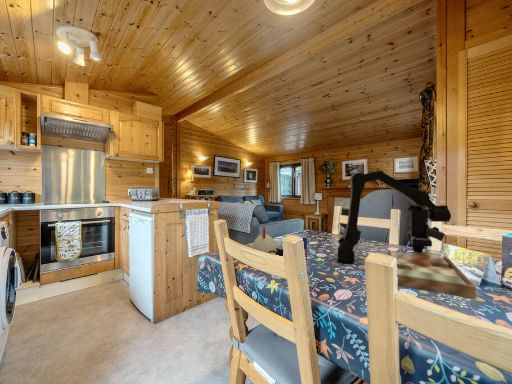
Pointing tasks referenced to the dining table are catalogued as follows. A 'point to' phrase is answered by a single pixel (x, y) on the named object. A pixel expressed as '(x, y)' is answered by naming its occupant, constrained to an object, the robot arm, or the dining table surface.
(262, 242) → the beige cone with rod
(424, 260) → the block
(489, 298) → the dining table surface
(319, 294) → the dining table surface
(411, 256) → the wooden tray
